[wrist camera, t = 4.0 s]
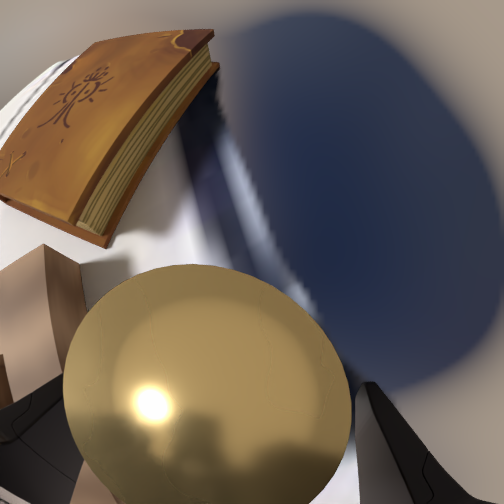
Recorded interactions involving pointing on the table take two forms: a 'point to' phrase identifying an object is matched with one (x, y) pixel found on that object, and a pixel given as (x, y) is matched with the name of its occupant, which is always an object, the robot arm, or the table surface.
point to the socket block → (42, 337)
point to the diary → (102, 129)
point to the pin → (206, 391)
